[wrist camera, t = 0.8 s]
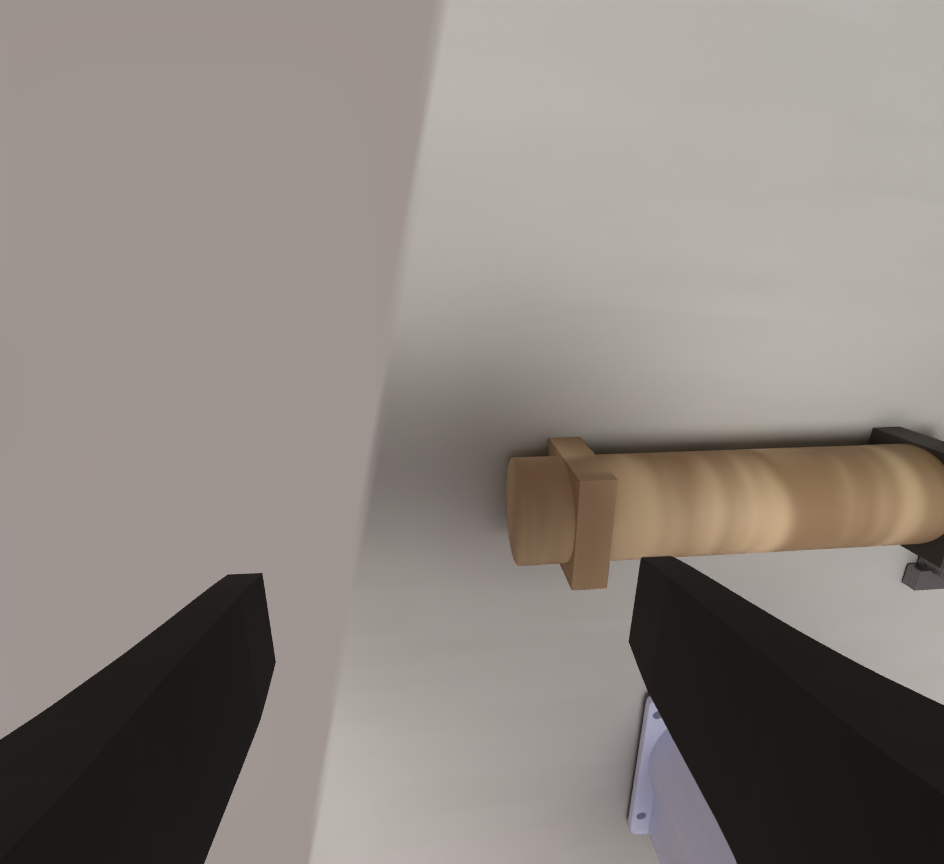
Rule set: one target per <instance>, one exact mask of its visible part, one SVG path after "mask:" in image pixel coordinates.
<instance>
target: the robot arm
mask: <svg viewBox="0 0 944 864" xmlns="http://www.w3.org/2000/svg"><path fill="white" fill-rule="evenodd" d="M629 643H630V646H631V649H632V652H633V654H634V657H635V660H636V662H637V665H638V668H639V670H640V673H641V675H642V678H643V680H644V683H645V685H646V688H647V690H648V693H649V695H650V696H649V697H648V698H647V700H646V705H645V711H644V718H643V725H642V731H641V738H640V744H639V751H638V758H637V764H636V771H635V778H634V784H633V791H632V797H631V804H630V811H629V817H628V826H629V829H630V832H631V833H633V834H635V835H640V834H649V835H650V837H651V840H652V842H653V845H654V847H655V850H656V853H657V855H658V858H659V860H660V863H661V864H944V705H942V704H940V703H938V702H936V701H934V700H931V699H929V698H927V697H925V696H923V695H921V694H919V693H917V692H915V691H913V690H911V689H909V688H906V687H904V686H902V685H900V684H898V683H896V682H894V681H892V680H890V679H888V678H886V677H884V676H882V675H880V674H878V673H876V672H874V671H872V670H870V669H868V668H866V667H864V666H862V665H860V664H858V663H856V662H854V661H852V660H851V659H849V658H847V657H845V656H843V655H841V654H840V653H838V652H836V651H834V650H832V649H830V648H829V647H827V646H825V645H823V644H821V643H820V642H818V641H816V640H814V639H812V638H810V637H809V636H807V635H805V634H803V633H802V632H800V631H798V630H796V629H795V628H793V627H791V626H789V625H788V624H786V623H784V622H783V621H781V620H779V619H777V618H776V617H774V616H772V615H771V614H769V613H767V612H766V611H764V610H762V609H761V608H759V607H757V606H756V605H754V604H752V603H751V602H749V601H747V600H746V599H744V598H742V597H741V596H739V595H737V594H736V593H734V592H732V591H731V590H729V589H728V588H726V587H724V586H723V585H721V584H719V583H718V582H716V581H714V580H713V579H711V578H709V577H708V576H706V575H704V574H703V573H701V572H699V571H698V570H696V569H694V568H693V567H691V566H689V565H687V564H686V563H684V562H682V561H680V560H678V559H676V558H674V557H672V556H656V557H641V561H640V568H639V575H638V582H637V588H636V595H635V602H634V609H633V616H632V623H631V630H630V637H629ZM275 663H276V661H275V655H274V648H273V641H272V635H271V628H270V621H269V615H268V608H267V601H266V595H265V588H264V581H263V575H262V573H255V574H233V575H232V574H231V575H227V576H225V577H224V578H222V579H221V580H219V581H218V582H217V583H215V584H214V585H213V586H211V587H210V588H209V589H207V590H206V591H205V592H203V593H202V594H201V595H200V596H198V597H197V598H196V599H194V600H193V601H192V602H191V603H190V604H188V605H187V606H185V607H184V608H183V609H182V610H180V611H179V612H178V613H177V614H175V615H174V616H173V617H171V618H170V619H169V620H168V621H166V622H165V623H164V624H162V625H161V626H160V627H158V628H157V629H156V630H155V631H153V632H152V633H151V634H149V635H148V636H147V637H145V638H144V639H143V640H141V641H140V642H139V643H138V644H136V645H135V646H134V647H132V648H131V649H130V650H128V651H127V652H126V653H124V654H123V655H122V656H120V657H119V658H118V659H116V660H115V661H113V662H112V663H111V664H109V665H108V666H106V667H105V668H104V669H102V670H101V671H100V672H98V673H97V674H95V675H94V676H92V677H91V678H90V679H88V680H87V681H85V682H84V683H83V684H81V685H80V686H79V687H77V688H76V689H74V690H73V691H71V692H70V693H69V694H67V695H66V696H64V697H63V698H62V699H60V700H59V701H58V702H56V703H55V704H53V705H52V706H51V707H49V708H47V709H46V710H45V711H43V712H42V713H40V714H39V715H37V716H36V717H34V718H33V719H31V720H30V721H28V722H27V723H25V724H24V725H22V726H21V727H19V728H18V729H16V730H14V731H13V732H11V733H10V734H9V735H7V736H5V737H4V738H2V739H1V740H0V864H204V862H205V860H206V857H207V855H208V852H209V849H210V847H211V844H212V842H213V839H214V837H215V834H216V832H217V829H218V827H219V824H220V822H221V819H222V817H223V814H224V812H225V809H226V807H227V804H228V802H229V799H230V796H231V794H232V791H233V789H234V786H235V784H236V781H237V779H238V776H239V774H240V771H241V769H242V766H243V764H244V761H245V758H246V756H247V753H248V751H249V748H250V745H251V743H252V740H253V738H254V735H255V733H256V730H257V727H258V724H259V722H260V719H261V716H262V712H263V709H264V705H265V701H266V698H267V694H268V690H269V686H270V682H271V678H272V674H273V670H274V666H275Z"/></svg>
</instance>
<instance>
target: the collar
mask: <svg viewBox="0 0 944 864" xmlns="http://www.w3.org/2000/svg"><path fill="white" fill-rule="evenodd" d="M902 583H904V584H905V585H907V586H908V587H910V588H911V589H913V590H928V589H943V588H944V568H939V567H937V566H935V565H933V564H932V563H930V562H928V561H927V560H925V559H923V558H922V557H919V560H918V563H915V564H908V566H907V569H906V572H905V575H904V578H903V581H902Z"/></svg>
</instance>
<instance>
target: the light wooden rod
mask: <svg viewBox="0 0 944 864" xmlns="http://www.w3.org/2000/svg"><path fill="white" fill-rule="evenodd" d="M506 511H507V524H508V533H509V540H510V546H511V551H512V555H513V558H514V561H515V563H516V564H517V565H518V566H522V565H540V564H558V563H560V565H561V567H562V570H563V572H564V574H565V576H566V578H567V581H568V583H569V585H570V587H571V589H572V590H585V589H601V588H607V580H608V571H609V561H613V560H631V559H641V557H656V556H672V557H686V556H704V555H722V554H741V553H759V552H777V551H795V550H813V549H832V548H850V547H868V546H886V545H901V546H903V547H904V548H906V549H908V550H910V551H911V552H913V553H915V554H916V555H918V556H920V557H922V558H923V559H925V560H927V561H928V562H930V563H932V564H933V565H935V566H937V567H939V568H944V442H943V441H940V440H938V439H935V438H932V437H929V436H926V435H923V434H920V433H917V432H914V431H911V430H908V429H905V428H902V427H879V428H873V429H872V433H871V437H870V440H869V444H868V445H852V446H824V447H795V448H767V449H739V450H711V451H683V452H654V453H626V454H598V455H595V454H594V452H593V451H592V450H591V449H590V448H589V447H588V446H587V445H586V444H585V443H584V441H583V440H582V439H581V438H580V437H569V438H549V452H548V456H541V457H513V458H511V459H510V461H509V464H508V469H507V479H506Z"/></svg>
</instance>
